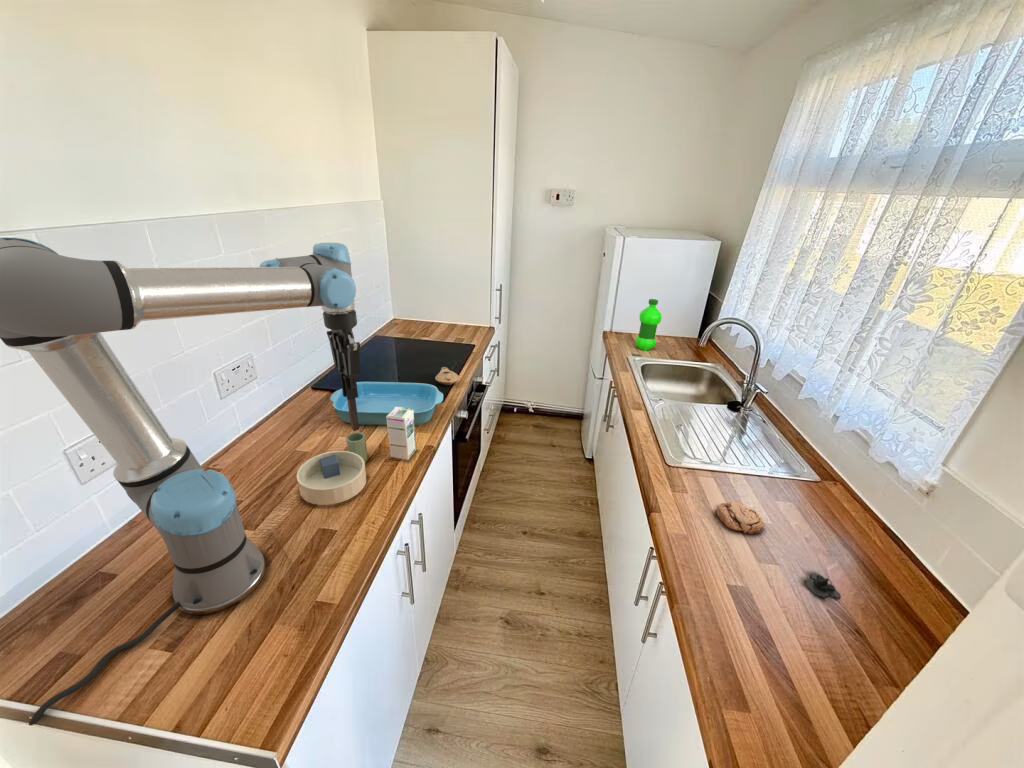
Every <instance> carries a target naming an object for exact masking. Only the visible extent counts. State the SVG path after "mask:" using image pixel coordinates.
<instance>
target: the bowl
mask: <svg viewBox="0 0 1024 768" xmlns="http://www.w3.org/2000/svg"><path fill="white" fill-rule="evenodd" d="M333 455H336V458H337V460H338V463H339V470H340V475H337V476H334V477H330V478H326V479H324V476H323V473H322V470H321V464H320V459H321V458H325V457H329V456H333ZM366 470H367V469H366V461H364V460H363V458H362V457H361V456H359V455H358V454H356V453H354V452H349V451H348V450H332V451H327V452H322V453H320V454H316V455H314V456H313V457H311V458H309V459H307V460H306V461H305V462H304V463H302V464H301V465H300V467H299V468H298V469H297V472H296V480H297V481H296V482H297V485H298V491H299V495H300V497H301V499H303V500H304V501H305V502H307V503H310V504H312V505H317V506H318V505H319V506H328V505H329V506H331V505H336V504H340V503H343V502H345V501H347V500H350V499H352V498H353V497H355V496H357V495H358V494H359V493H360V492H362V490H363V489H364V487H365V486H366V483H367V471H366Z"/></svg>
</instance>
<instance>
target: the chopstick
mask: <svg viewBox="0 0 1024 768" xmlns="http://www.w3.org/2000/svg"><path fill="white" fill-rule="evenodd" d="M343 373H344V376H345V375H346V374H345V369H344V370H343ZM344 380H345V379H344ZM345 387H346V386H345ZM347 401H348V408H349V415H350V422H351V423H350V428H351V430H352V431H353V432H357V431H359V430H360V424H359V422H358V415H357V407H356V400H355V398H354V399H351V400H348V399H347Z"/></svg>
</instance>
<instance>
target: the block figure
mask: <svg viewBox="0 0 1024 768" xmlns="http://www.w3.org/2000/svg"><path fill="white" fill-rule="evenodd" d="M829 581H830V579H829V578H827V577H824V576H823V575H821V574H817V573H816V572H813V573H810V574H809V578H807V579H804V584H805V585H804V586H805V588H806V589H807V590H809V591H810V592H811V593H812V594H813V595H814V596H815V597H816V596H817V597H818V598H821V599H825V598H829V597H831V598H832V599H833V598H834V600H838V599H841V593H840V592H839V591H838V590H837V589H836V586H834V585H833V584H832V583H829Z"/></svg>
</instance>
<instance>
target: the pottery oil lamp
mask: <svg viewBox="0 0 1024 768" xmlns="http://www.w3.org/2000/svg"><path fill="white" fill-rule="evenodd" d="M434 378H435V379H434V380H435V381H436V382H437V383H439V384H441V385H445V386H451V385H452V384H454V383H456V382H458V381H459V379H460V376H459V375H458V373H456V372H454V371H453V370H450V369H449V368H448V367H447V366H443V367H441V368H440V370H439V372H438V373H437V375H436V376H435V377H434Z"/></svg>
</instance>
